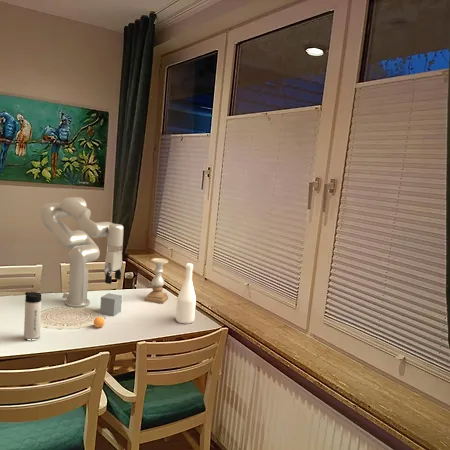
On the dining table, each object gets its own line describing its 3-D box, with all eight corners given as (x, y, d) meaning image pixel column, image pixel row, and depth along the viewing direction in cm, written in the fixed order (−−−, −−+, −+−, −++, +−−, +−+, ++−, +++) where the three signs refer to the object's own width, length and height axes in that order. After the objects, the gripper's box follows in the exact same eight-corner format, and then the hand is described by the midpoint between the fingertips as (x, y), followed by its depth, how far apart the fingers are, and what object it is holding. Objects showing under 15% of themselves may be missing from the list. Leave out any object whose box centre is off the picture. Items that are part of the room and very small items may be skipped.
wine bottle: (186, 316, 230) (191, 261, 226) (197, 322, 223) (203, 265, 219) (171, 319, 223) (176, 262, 219) (183, 325, 217) (188, 267, 213)
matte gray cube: (100, 313, 222) (101, 297, 220) (107, 309, 229) (108, 293, 228) (113, 316, 220) (114, 299, 219) (120, 311, 227) (121, 295, 226)
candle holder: (150, 296, 259) (153, 256, 255) (168, 298, 257) (171, 259, 254) (144, 301, 248) (147, 260, 245) (163, 303, 246) (166, 263, 243)
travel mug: (26, 334, 188) (27, 290, 185) (41, 335, 188) (43, 291, 186) (20, 340, 182) (22, 294, 179) (36, 341, 182) (38, 295, 180)
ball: (91, 328, 202) (91, 317, 202) (96, 324, 207) (97, 314, 206) (100, 329, 201) (101, 319, 200) (106, 326, 206) (106, 316, 205)
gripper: (116, 245, 229) (114, 276, 231) (99, 250, 212) (97, 284, 215) (129, 246, 227) (127, 278, 230) (113, 252, 211) (111, 286, 213)
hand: (113, 281), depth 222 cm, fingers open, 9 cm apart
